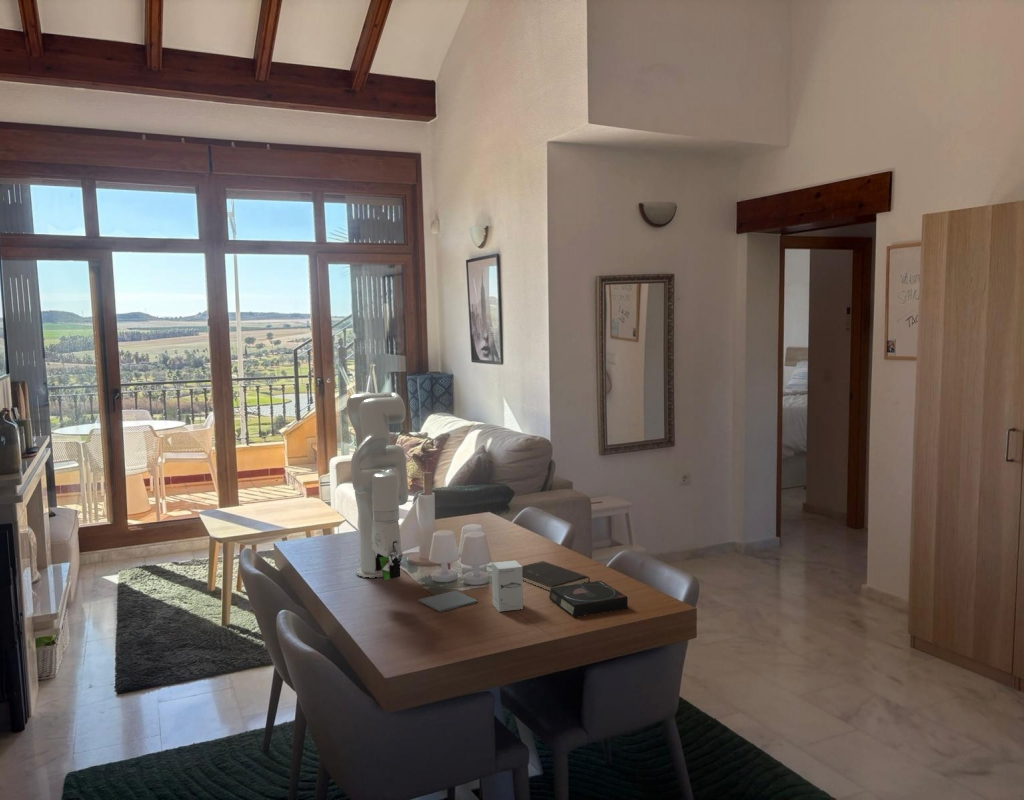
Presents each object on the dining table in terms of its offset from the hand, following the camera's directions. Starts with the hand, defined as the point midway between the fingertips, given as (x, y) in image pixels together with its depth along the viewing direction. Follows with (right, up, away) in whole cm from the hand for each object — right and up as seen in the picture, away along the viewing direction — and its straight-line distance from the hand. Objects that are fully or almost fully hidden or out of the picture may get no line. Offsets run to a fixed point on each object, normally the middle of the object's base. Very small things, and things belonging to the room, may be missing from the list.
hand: (387, 573), depth 233 cm
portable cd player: (+58, -9, -2) cm, 59 cm away
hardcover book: (+48, -7, +23) cm, 54 cm away
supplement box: (+35, -9, -3) cm, 36 cm away
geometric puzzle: (0, -2, 0) cm, 2 cm away
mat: (+17, -9, +2) cm, 20 cm away
